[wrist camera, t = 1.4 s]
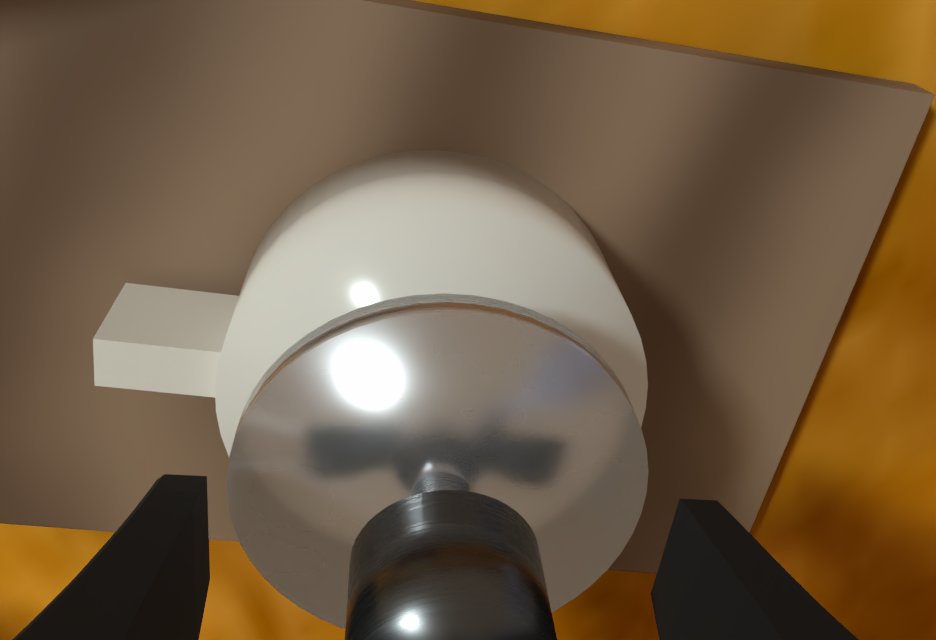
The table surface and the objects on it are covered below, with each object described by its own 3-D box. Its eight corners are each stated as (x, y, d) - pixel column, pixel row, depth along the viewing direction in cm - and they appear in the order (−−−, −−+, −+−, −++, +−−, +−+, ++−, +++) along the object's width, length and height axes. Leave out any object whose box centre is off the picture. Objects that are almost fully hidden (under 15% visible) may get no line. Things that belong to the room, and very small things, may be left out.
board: (913, 84, 18) (934, 94, 17) (720, 557, 24) (729, 578, 24) (-153, -94, 15) (-179, -89, 14) (-65, 494, 21) (-81, 517, 21)
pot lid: (688, 321, 14) (798, 506, 10) (587, 628, 17) (641, 855, 13) (242, 267, 13) (179, 451, 9) (224, 603, 16) (171, 841, 12)
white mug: (656, 180, 18) (701, 241, 15) (567, 489, 22) (591, 581, 19) (129, 104, 16) (77, 158, 14) (132, 450, 20) (94, 544, 18)
